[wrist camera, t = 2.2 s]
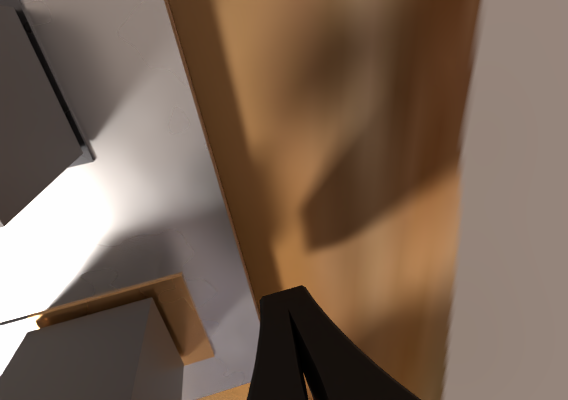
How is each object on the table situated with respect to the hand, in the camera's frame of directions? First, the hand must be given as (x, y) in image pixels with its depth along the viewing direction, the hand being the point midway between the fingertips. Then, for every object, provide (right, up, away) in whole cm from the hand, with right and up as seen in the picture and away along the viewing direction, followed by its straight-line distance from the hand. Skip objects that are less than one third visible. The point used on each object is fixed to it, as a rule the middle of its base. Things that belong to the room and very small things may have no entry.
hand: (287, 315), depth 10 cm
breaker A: (-5, -1, 0) cm, 6 cm away
